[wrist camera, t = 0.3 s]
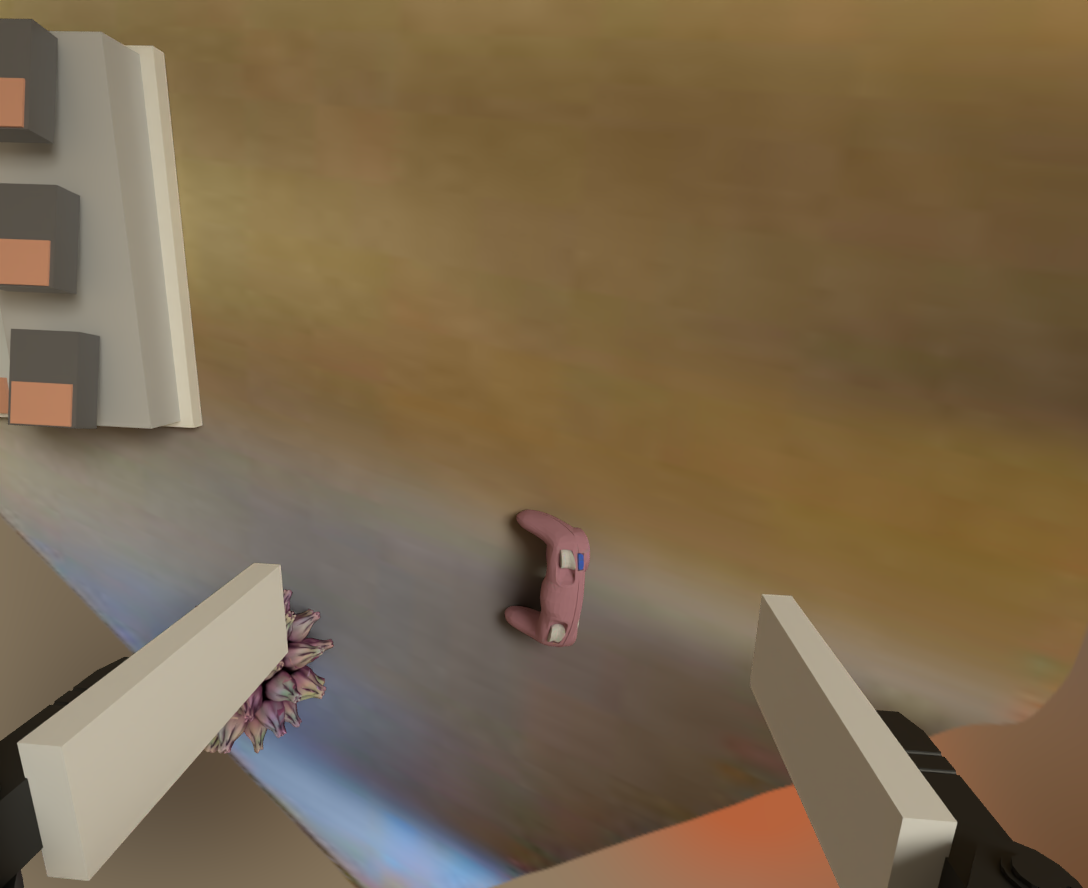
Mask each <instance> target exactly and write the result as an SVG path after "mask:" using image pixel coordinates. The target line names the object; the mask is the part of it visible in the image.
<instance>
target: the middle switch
mask: <svg viewBox="0 0 1088 888" xmlns="http://www.w3.org/2000/svg"><path fill="white" fill-rule="evenodd" d="M79 211H80V196H79V195H77V194H75V193H73V192H71V191H69V190H67V189H65V188H63V187H60V186H58V185H46V184H13V183H0V290H4V291H12V292H35V293H59V294H77V268H78V239H79Z"/></svg>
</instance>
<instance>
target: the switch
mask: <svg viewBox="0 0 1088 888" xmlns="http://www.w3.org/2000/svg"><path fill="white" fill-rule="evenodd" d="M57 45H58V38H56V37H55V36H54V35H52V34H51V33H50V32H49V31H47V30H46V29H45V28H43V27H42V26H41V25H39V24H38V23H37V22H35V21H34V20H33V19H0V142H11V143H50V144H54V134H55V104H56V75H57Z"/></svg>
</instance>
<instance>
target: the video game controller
mask: <svg viewBox="0 0 1088 888" xmlns="http://www.w3.org/2000/svg"><path fill="white" fill-rule="evenodd" d="M516 519H517V522H518V523H519V524H520V525H521V526H522V527H523V528H524V529H526V530H527V531H529V532H531V533H533V534H534V535H536V536H537V537H539V538H540V539H541V540H543V541H544V542H545V543H546V544H547V548H546V560H547V572H546V576H545V578H544V580H543V581H542V585H541V593H540V602H541V612H539V611H536V610H534V609H531V608H528V607H523V606H510V607H509V608H507V609H506V610H505V618H506V620H507V621H508V623H509V624H510V625H512V626H513V627H515V628H516V629H518V630H519V631H521V632H523V633H525V634H526V635H528V636H530V637H532V638H533V639H535V640H536V641H538V642H540V643H542V644H544V645H548V646H555V647H563V646H571V645H572V644H573V643H574V642H575V640H576V637H577V628H578V625H579V618H580V613H581V608H582V602H583V594H584V583H585V571H586V570H587V568H588V565H589V562H590V547H589V542H588V539H587V536H586V534H585V533H584V531H583V530H582V529H580V528H573V527H572V526H570V525H569V524H567V523H565V522H563V521H561V520H560V519H558V518H556V517H554V516H552V515H549V514H547V513H543V512H540V511H535V510H524V511H522V512H520V513H518V514H517V518H516Z"/></svg>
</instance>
